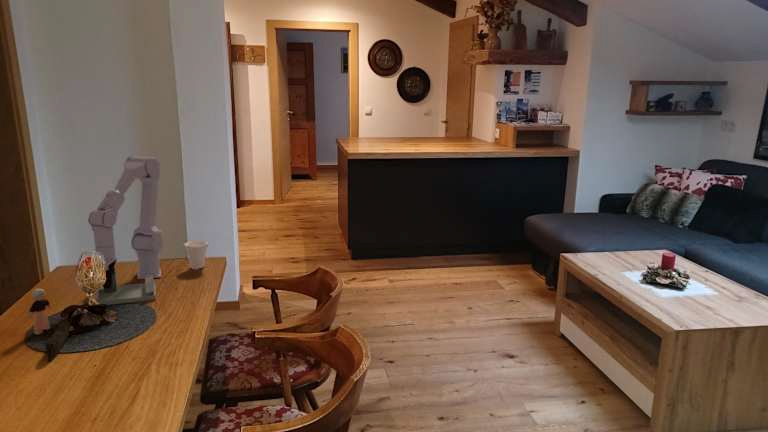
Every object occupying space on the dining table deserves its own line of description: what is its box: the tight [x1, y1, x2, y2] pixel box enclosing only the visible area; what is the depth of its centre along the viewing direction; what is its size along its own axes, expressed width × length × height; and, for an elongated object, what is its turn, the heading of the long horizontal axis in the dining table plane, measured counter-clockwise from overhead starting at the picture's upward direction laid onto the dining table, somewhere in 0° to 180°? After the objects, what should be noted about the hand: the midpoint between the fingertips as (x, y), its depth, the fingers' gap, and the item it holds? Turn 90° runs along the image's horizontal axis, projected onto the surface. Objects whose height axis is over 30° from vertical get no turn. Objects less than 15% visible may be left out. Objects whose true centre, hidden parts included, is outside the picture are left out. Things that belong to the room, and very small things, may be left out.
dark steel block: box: [105, 270, 118, 293], centre depth 185 cm, size 4×4×6 cm
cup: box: [182, 240, 209, 270], centre depth 213 cm, size 9×9×10 cm
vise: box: [86, 281, 157, 306], centre depth 184 cm, size 13×20×5 cm, turn 112°
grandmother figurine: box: [27, 287, 52, 335], centre depth 157 cm, size 8×4×13 cm, turn 179°
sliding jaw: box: [144, 275, 155, 294], centre depth 187 cm, size 10×2×3 cm, turn 22°
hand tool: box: [45, 319, 70, 362], centre depth 149 cm, size 19×4×5 cm, turn 14°
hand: (108, 284), depth 185 cm, fingers open, 7 cm apart
